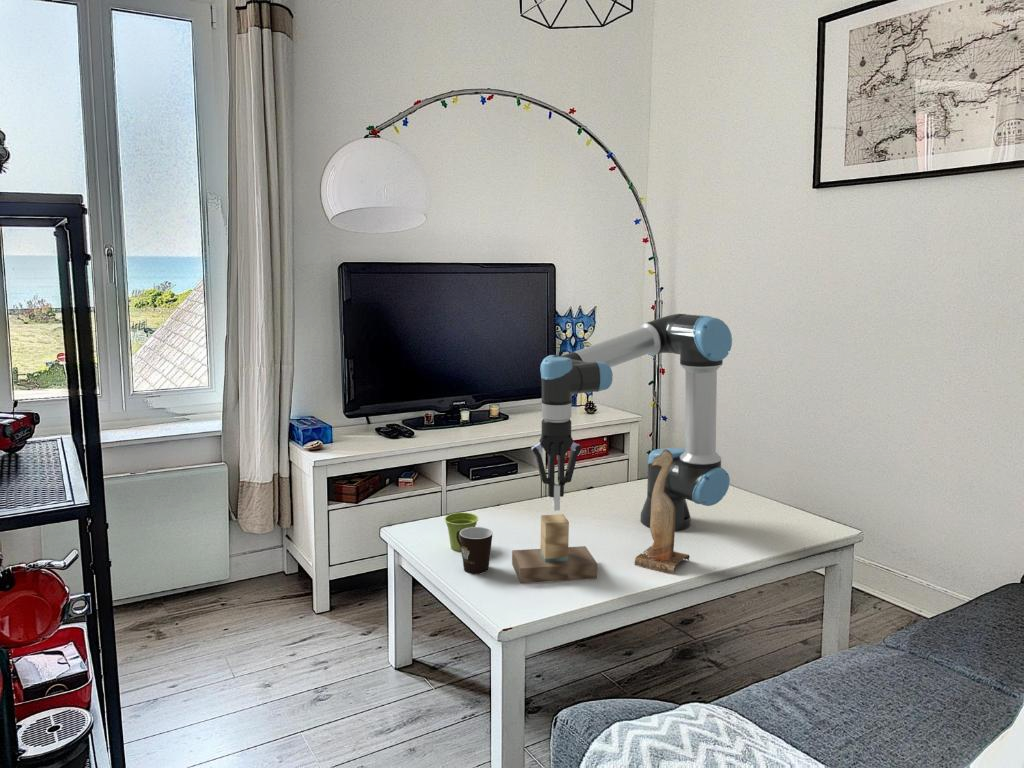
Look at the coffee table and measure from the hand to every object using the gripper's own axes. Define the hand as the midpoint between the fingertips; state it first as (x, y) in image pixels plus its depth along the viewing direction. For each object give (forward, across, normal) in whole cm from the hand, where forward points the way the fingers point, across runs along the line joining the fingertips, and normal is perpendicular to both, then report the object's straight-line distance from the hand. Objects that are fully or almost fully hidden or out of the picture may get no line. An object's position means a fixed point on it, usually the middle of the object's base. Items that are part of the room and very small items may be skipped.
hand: (555, 508), depth 202 cm
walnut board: (+17, 0, 0) cm, 17 cm away
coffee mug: (+17, +20, -6) cm, 27 cm away
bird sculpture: (+18, -30, -1) cm, 34 cm away
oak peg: (+17, 0, 0) cm, 17 cm away
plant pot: (+17, +22, -20) cm, 35 cm away
